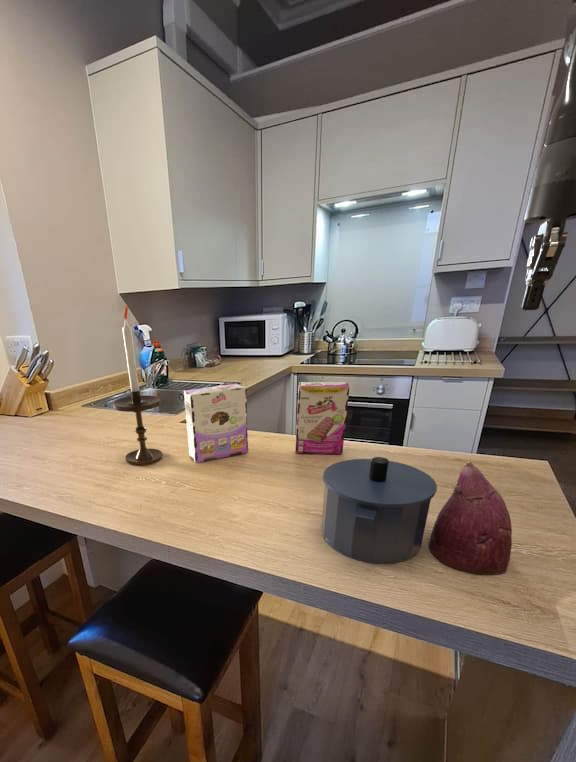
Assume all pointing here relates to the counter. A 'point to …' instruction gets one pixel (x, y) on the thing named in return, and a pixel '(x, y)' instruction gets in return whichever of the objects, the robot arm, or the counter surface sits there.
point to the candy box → (216, 422)
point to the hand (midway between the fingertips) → (529, 309)
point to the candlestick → (137, 404)
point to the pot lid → (379, 482)
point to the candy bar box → (321, 417)
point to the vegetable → (473, 527)
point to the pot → (373, 529)
